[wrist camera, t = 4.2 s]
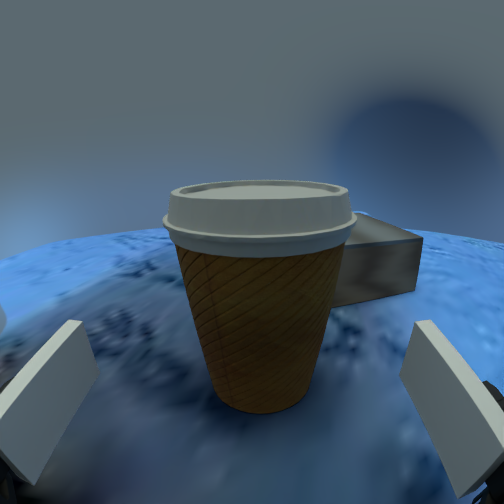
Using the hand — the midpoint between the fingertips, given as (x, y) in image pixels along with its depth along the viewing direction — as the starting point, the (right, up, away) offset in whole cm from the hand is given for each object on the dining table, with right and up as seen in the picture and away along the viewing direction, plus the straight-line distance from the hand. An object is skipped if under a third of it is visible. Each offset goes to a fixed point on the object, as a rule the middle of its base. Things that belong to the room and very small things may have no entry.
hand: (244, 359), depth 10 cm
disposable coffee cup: (+1, -4, +8) cm, 9 cm away
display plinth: (+10, +1, +23) cm, 26 cm away
